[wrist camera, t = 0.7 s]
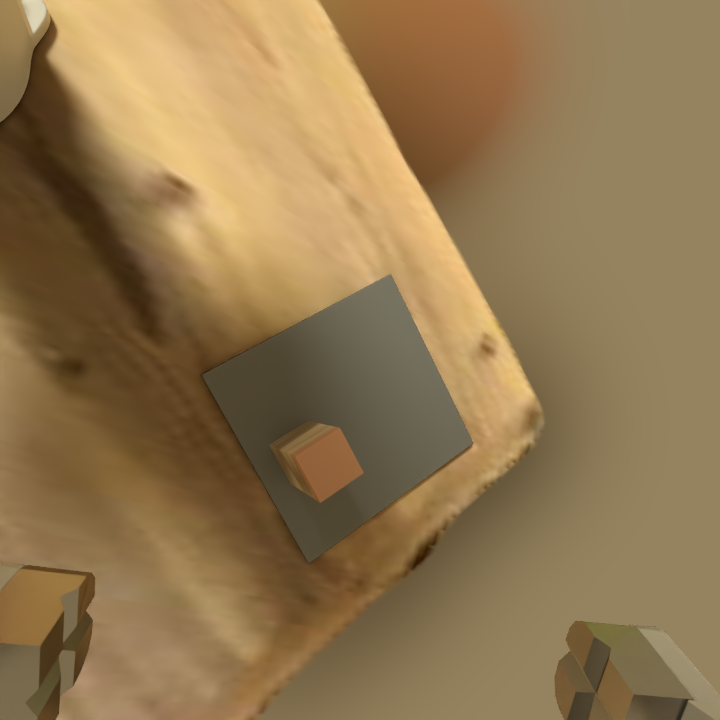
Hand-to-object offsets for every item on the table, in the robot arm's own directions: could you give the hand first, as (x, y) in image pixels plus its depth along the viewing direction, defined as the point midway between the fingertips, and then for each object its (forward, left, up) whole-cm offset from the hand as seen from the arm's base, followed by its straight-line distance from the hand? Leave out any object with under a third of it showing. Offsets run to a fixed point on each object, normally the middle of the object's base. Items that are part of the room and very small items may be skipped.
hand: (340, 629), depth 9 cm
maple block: (+7, +8, -37) cm, 38 cm away
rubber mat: (+6, +14, -37) cm, 40 cm away
